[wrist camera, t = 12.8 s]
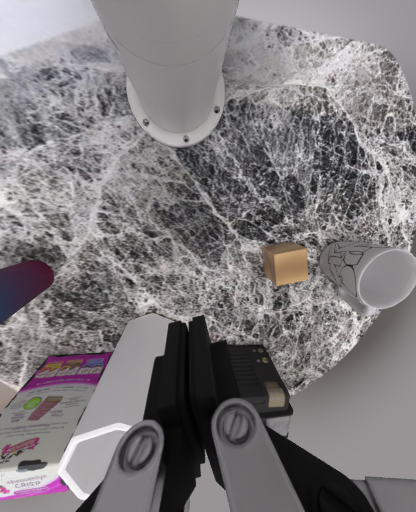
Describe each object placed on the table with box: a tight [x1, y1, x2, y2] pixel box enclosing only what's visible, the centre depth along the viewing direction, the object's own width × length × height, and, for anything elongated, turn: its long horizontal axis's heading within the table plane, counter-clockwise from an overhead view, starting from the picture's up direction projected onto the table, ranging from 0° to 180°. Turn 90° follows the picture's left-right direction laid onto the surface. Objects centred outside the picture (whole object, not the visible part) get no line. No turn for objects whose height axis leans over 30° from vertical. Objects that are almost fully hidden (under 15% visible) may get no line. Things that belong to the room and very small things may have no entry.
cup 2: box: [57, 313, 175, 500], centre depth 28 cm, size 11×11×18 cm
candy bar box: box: [0, 352, 113, 500], centre depth 29 cm, size 11×5×16 cm, turn 90°
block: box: [262, 242, 308, 286], centre depth 33 cm, size 5×5×5 cm
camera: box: [228, 346, 293, 438], centre depth 33 cm, size 11×14×15 cm
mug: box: [319, 241, 416, 316], centre depth 32 cm, size 11×8×10 cm
